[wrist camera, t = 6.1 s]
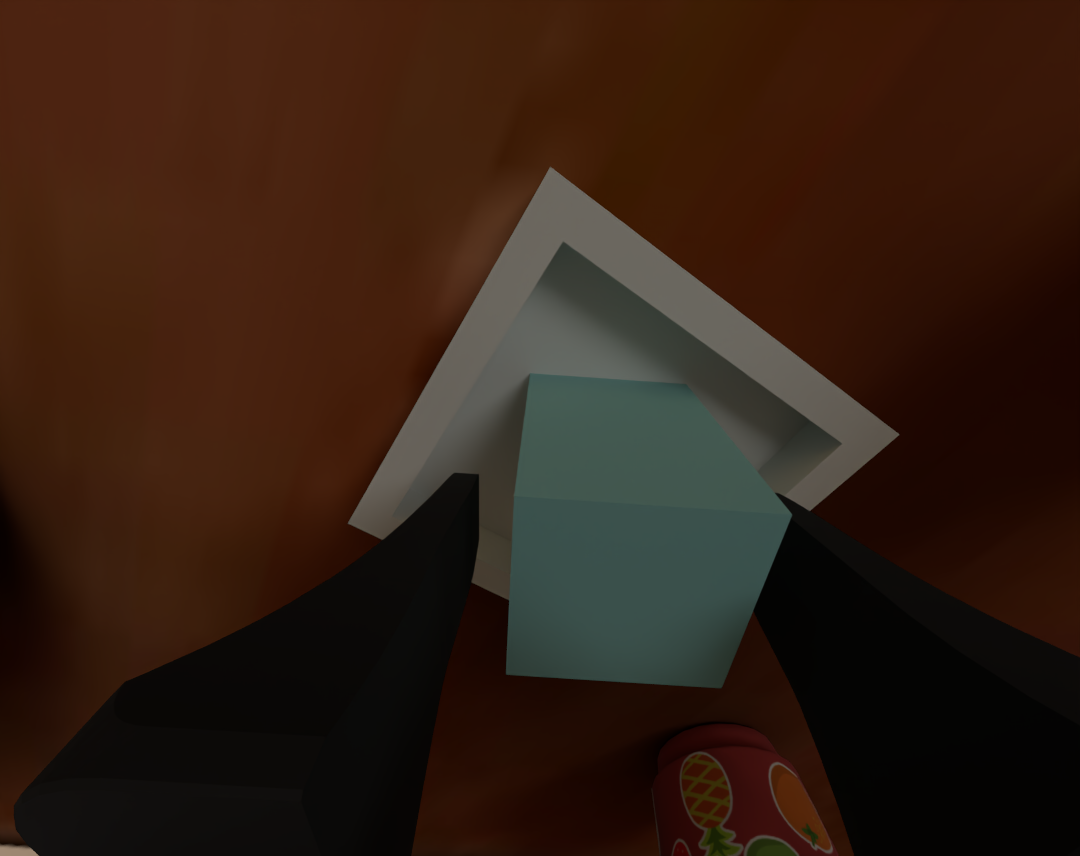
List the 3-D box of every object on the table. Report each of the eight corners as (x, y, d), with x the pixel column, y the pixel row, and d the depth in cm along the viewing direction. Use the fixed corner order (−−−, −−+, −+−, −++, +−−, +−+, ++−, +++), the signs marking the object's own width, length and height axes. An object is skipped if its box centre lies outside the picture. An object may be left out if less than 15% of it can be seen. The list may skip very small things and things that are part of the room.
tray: (849, 403, 13) (899, 434, 11) (625, 611, 17) (634, 660, 15) (550, 175, 11) (550, 167, 9) (373, 484, 15) (348, 523, 13)
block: (686, 383, 12) (792, 514, 7) (657, 510, 14) (721, 688, 9) (529, 373, 12) (513, 495, 7) (522, 501, 14) (505, 675, 9)
